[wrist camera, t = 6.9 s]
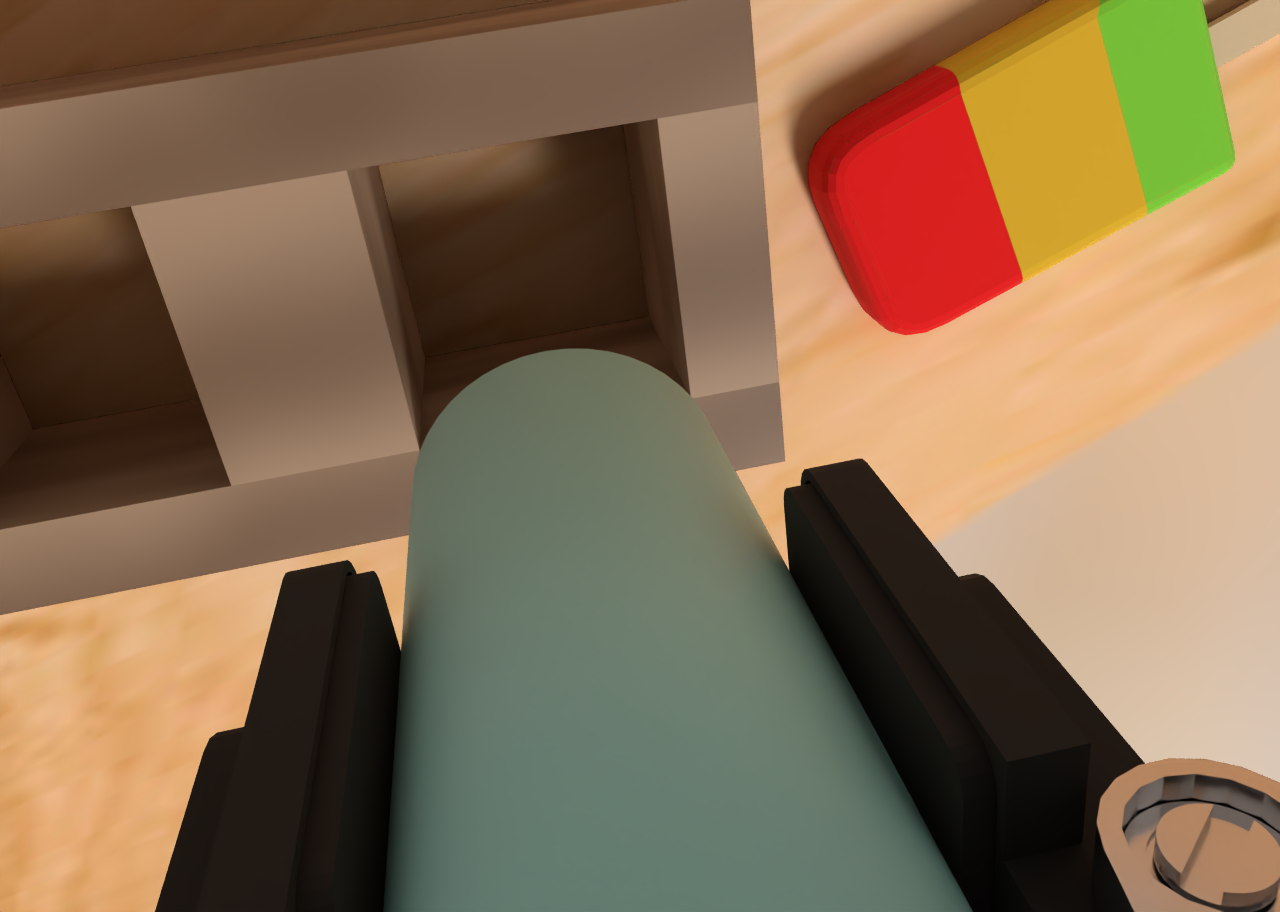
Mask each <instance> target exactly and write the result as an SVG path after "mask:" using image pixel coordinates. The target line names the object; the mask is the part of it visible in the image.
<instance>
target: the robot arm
mask: <svg viewBox="0 0 1280 912" xmlns="http://www.w3.org/2000/svg"><path fill="white" fill-rule="evenodd" d="M784 511H785V523H786V536H787V548H788V560H789V572H790V573H791V575H792V577H793V579H794V581H795V583H796V585H797V586H798V588H799V590H800V592H801V594H802V596H803V598H804V599H805V601H806V603H807V605H808V607H809V609H810V611H811V612H812V614H813V616H814V618H815V620H816V622H817V623H818V625H819V627H820V629H821V631H822V633H823V635H824V636H825V638H826V640H827V642H828V644H829V646H830V648H831V649H832V651H833V653H834V655H835V657H836V659H837V661H838V662H839V664H840V666H841V668H842V670H843V672H844V674H845V675H846V677H847V679H848V681H849V683H850V685H851V687H852V688H853V690H854V692H855V694H856V696H857V698H858V700H859V701H860V703H861V705H862V707H863V709H864V711H865V713H866V714H867V716H868V718H869V720H870V722H871V724H872V726H873V727H874V729H875V731H876V733H877V735H878V737H879V739H880V740H881V742H882V744H883V746H884V748H885V750H886V752H887V753H888V755H889V757H890V759H891V761H892V763H893V764H894V766H895V768H896V770H897V772H898V774H899V776H900V777H901V779H902V781H903V783H904V785H905V787H906V789H907V790H908V792H909V794H910V796H911V798H912V800H913V802H914V803H915V805H916V807H917V809H918V811H919V813H920V815H921V816H922V818H923V820H924V822H925V824H926V826H927V828H928V829H929V831H930V833H931V835H932V837H933V839H934V841H935V842H936V844H937V846H938V848H939V850H940V852H941V854H942V855H943V857H944V859H945V861H946V863H947V865H948V867H949V868H950V870H951V872H952V874H953V876H954V878H955V880H956V881H957V883H958V885H959V887H960V889H961V891H962V893H963V894H964V896H965V898H966V900H967V902H968V904H969V905H970V907H971V909H972V911H973V912H1280V783H1279V782H1277V781H1275V780H1272V779H1270V778H1268V777H1265V776H1263V775H1260V774H1258V773H1255V772H1253V771H1250V770H1248V769H1246V768H1243V767H1240V766H1235V765H1230V764H1226V763H1221V762H1216V761H1212V760H1207V759H1175V758H1174V759H1173V758H1170V759H1164V760H1160V761H1155V762H1151V763H1147V764H1145V763H1144V762H1143V761H1142V759H1141V758H1140V757H1139V756H1138V755H1137V753H1136V752H1135V751H1134V750H1133V749H1132V748H1131V746H1130V745H1129V744H1128V743H1127V742H1126V741H1125V739H1124V738H1123V737H1122V736H1121V735H1120V733H1119V732H1118V731H1117V730H1116V729H1115V728H1114V726H1113V725H1112V724H1111V723H1110V722H1109V720H1108V719H1107V718H1106V717H1105V716H1104V714H1103V713H1102V712H1101V711H1100V710H1099V708H1098V707H1097V706H1096V705H1095V704H1094V703H1093V701H1092V700H1091V699H1090V698H1089V697H1088V696H1087V694H1086V693H1085V692H1084V691H1083V690H1082V688H1081V687H1080V686H1079V685H1078V684H1077V682H1076V681H1075V680H1074V679H1073V678H1072V677H1071V675H1070V674H1069V673H1068V672H1067V671H1066V669H1065V668H1064V667H1063V666H1062V665H1061V663H1060V662H1059V661H1058V660H1057V659H1056V658H1055V657H1054V655H1053V654H1052V653H1051V652H1050V650H1049V649H1048V648H1047V647H1046V646H1045V645H1044V643H1043V642H1042V641H1041V640H1040V639H1039V637H1038V636H1037V635H1036V634H1035V633H1034V632H1033V630H1032V629H1031V628H1030V627H1029V626H1028V625H1027V623H1026V622H1025V621H1024V620H1023V619H1022V617H1021V616H1020V615H1019V614H1018V613H1017V611H1016V610H1015V609H1014V608H1013V607H1012V605H1011V604H1010V603H1009V602H1008V601H1007V600H1006V598H1005V597H1004V596H1003V595H1002V594H1001V592H1000V591H999V590H998V589H997V588H996V587H995V585H994V584H993V583H991V582H990V581H989V580H988V579H987V578H986V577H985V576H983V575H979V574H971V575H965V576H961V577H958V576H957V575H956V574H955V572H954V571H953V570H952V569H951V567H950V566H949V565H948V564H947V562H946V561H945V560H944V559H943V557H942V556H941V555H940V553H939V552H938V551H937V550H936V548H935V547H934V546H933V545H932V543H931V542H930V541H929V540H928V538H927V537H926V536H925V535H924V533H923V532H922V531H921V530H920V528H919V527H918V526H917V525H916V523H915V522H914V521H913V520H912V518H911V517H910V516H909V515H908V513H907V512H906V511H905V510H904V508H903V507H902V506H901V505H900V503H899V502H898V501H897V500H896V498H895V497H894V496H893V495H892V493H891V492H890V491H889V490H888V488H887V487H886V486H885V485H884V483H883V482H882V481H881V480H880V478H879V477H878V476H877V475H876V473H875V472H874V471H873V470H872V468H871V467H870V466H869V465H868V463H867V462H866V461H864V460H863V459H855V460H850V461H844V462H839V463H834V464H829V465H824V466H819V467H814V468H809V469H804V471H803V473H802V477H801V486H796V487H791V488H786V490H785V491H784ZM400 659H401V650H400V647H399V644H398V640H397V637H396V634H395V630H394V627H393V623H392V620H391V617H390V613H389V610H388V607H387V603H386V600H385V597H384V593H383V590H382V587H381V584H380V581H379V578H378V576H377V574H376V573H375V572H374V571H370V572H365V573H360V574H356V571H355V569H354V567H353V565H352V563H351V562H350V561H348V560H346V561H341V562H336V563H331V564H326V565H321V566H315V567H310V568H305V569H300V570H295V571H290V572H287V573H285V576H284V578H283V581H282V585H281V588H280V592H279V596H278V600H277V604H276V607H275V611H274V615H273V619H272V623H271V627H270V630H269V634H268V638H267V642H266V646H265V649H264V653H263V657H262V661H261V665H260V669H259V672H258V676H257V680H256V684H255V688H254V691H253V695H252V699H251V703H250V707H249V711H248V714H247V718H246V722H245V726H244V727H242V728H237V729H232V730H227V731H223V732H218V733H216V734H215V735H214V736H212V737H211V738H210V739H209V741H208V743H207V746H206V748H205V750H204V752H203V755H202V759H201V762H200V765H199V769H198V772H197V775H196V778H195V782H194V785H193V788H192V792H191V795H190V798H189V802H188V805H187V808H186V811H185V815H184V818H183V821H182V825H181V828H180V831H179V834H178V838H177V841H176V844H175V848H174V851H173V854H172V857H171V861H170V864H169V867H168V871H167V874H166V877H165V880H164V884H163V887H162V890H161V894H160V897H159V900H158V904H157V907H156V910H155V912H383V906H384V891H385V877H386V862H387V848H388V833H389V819H390V804H391V790H392V775H393V761H394V746H395V732H396V717H397V703H398V688H399V674H400Z"/></svg>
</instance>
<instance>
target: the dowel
mask: <svg viewBox="0 0 1280 912" xmlns="http://www.w3.org/2000/svg"><path fill="white" fill-rule="evenodd" d="M383 912H973V911H972V909H971V907H970V905H969V904H968V902H967V900H966V898H965V896H964V894H963V893H962V891H961V889H960V887H959V885H958V883H957V881H956V880H955V878H954V876H953V874H952V872H951V870H950V868H949V867H948V865H947V863H946V861H945V859H944V857H943V855H942V854H941V852H940V850H939V848H938V846H937V844H936V842H935V841H934V839H933V837H932V835H931V833H930V831H929V829H928V828H927V826H926V824H925V822H924V820H923V818H922V816H921V815H920V813H919V811H918V809H917V807H916V805H915V803H914V802H913V800H912V798H911V796H910V794H909V792H908V790H907V789H906V787H905V785H904V783H903V781H902V779H901V777H900V776H899V774H898V772H897V770H896V768H895V766H894V764H893V763H892V761H891V759H890V757H889V755H888V753H887V752H886V750H885V748H884V746H883V744H882V742H881V740H880V739H879V737H878V735H877V733H876V731H875V729H874V727H873V726H872V724H871V722H870V720H869V718H868V716H867V714H866V713H865V711H864V709H863V707H862V705H861V703H860V701H859V700H858V698H857V696H856V694H855V692H854V690H853V688H852V687H851V685H850V683H849V681H848V679H847V677H846V675H845V674H844V672H843V670H842V668H841V666H840V664H839V662H838V661H837V659H836V657H835V655H834V653H833V651H832V649H831V648H830V646H829V644H828V642H827V640H826V638H825V636H824V635H823V633H822V631H821V629H820V627H819V625H818V623H817V622H816V620H815V618H814V616H813V614H812V612H811V611H810V609H809V607H808V605H807V603H806V601H805V599H804V598H803V596H802V594H801V592H800V590H799V588H798V586H797V585H796V583H795V581H794V579H793V577H792V575H791V573H790V572H789V570H788V568H787V566H786V564H785V562H784V560H783V559H782V557H781V555H780V553H779V551H778V549H777V547H776V546H775V544H774V542H773V540H772V538H771V536H770V534H769V533H768V531H767V529H766V527H765V525H764V523H763V521H762V520H761V518H760V516H759V514H758V512H757V510H756V508H755V507H754V505H753V503H752V501H751V499H750V497H749V495H748V494H747V492H746V490H745V488H744V486H743V484H742V483H741V481H740V479H739V477H738V475H737V473H736V471H735V470H734V468H733V466H732V464H731V462H730V460H729V458H728V457H727V455H726V453H725V451H724V449H723V447H722V445H721V444H720V442H719V440H718V438H717V436H716V434H715V432H714V431H713V429H712V427H711V425H710V423H709V421H708V419H707V418H706V416H705V414H704V413H703V411H702V410H701V409H700V407H699V406H698V404H697V403H696V402H695V400H694V399H693V398H692V397H691V396H690V395H689V394H688V393H687V392H686V391H685V390H684V389H683V388H682V387H681V386H680V385H679V384H677V383H676V382H675V381H673V380H672V379H671V378H670V377H668V376H667V375H666V374H664V373H662V372H660V371H659V370H657V369H655V368H653V367H652V366H650V365H648V364H646V363H643V362H641V361H638V360H636V359H634V358H631V357H628V356H624V355H621V354H617V353H613V352H609V351H602V350H594V349H559V350H551V351H543V352H539V353H535V354H531V355H527V356H523V357H521V358H518V359H515V360H513V361H510V362H508V363H505V364H503V365H501V366H499V367H497V368H495V369H493V370H491V371H489V372H488V373H486V374H484V375H482V376H481V377H480V378H478V379H477V380H475V381H474V382H473V383H471V384H470V385H468V386H467V387H466V388H465V389H464V390H462V391H461V392H460V393H459V394H458V395H457V396H456V397H455V398H454V399H453V400H452V401H451V402H450V403H449V404H448V405H447V407H446V408H445V409H444V410H443V411H442V413H441V414H440V415H439V416H438V418H437V419H436V421H435V422H434V424H433V426H432V427H431V429H430V431H429V432H428V434H427V436H426V438H425V440H424V443H423V445H422V447H421V450H420V452H419V455H418V459H417V463H416V467H415V470H414V478H413V487H412V500H411V514H410V529H409V543H408V557H407V572H406V586H405V601H404V615H403V630H402V644H401V659H400V674H399V688H398V703H397V717H396V732H395V746H394V761H393V775H392V790H391V804H390V819H389V833H388V848H387V862H386V877H385V891H384V906H383Z"/></svg>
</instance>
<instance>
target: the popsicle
mask: <svg viewBox="0 0 1280 912" xmlns="http://www.w3.org/2000/svg"><path fill="white" fill-rule="evenodd" d="M1101 34H1102V35H1101ZM1278 34H1280V0H1250V1H1248V2H1246V3H1244V4H1243V5H1241V6H1239V7H1237V8H1235V9H1234V10H1232V11H1230V12H1228V13H1226V14H1225V15H1223V16H1221V17H1219V18H1217V19H1215V20H1214V21H1212V22H1210V23H1208V24H1207V20H1206V15H1205V11H1204V6H1203V1H1202V0H1049V1H1048V2H1046V3H1044V4H1042V5H1041V6H1039V7H1037V8H1035V9H1034V10H1032V11H1030V12H1028V13H1026V14H1025V15H1023V16H1021V17H1019V18H1018V19H1016V20H1014V21H1012V22H1010V23H1009V24H1007V25H1005V26H1003V27H1002V28H1000V29H998V30H996V31H995V32H993V33H991V34H989V35H987V36H986V37H984V38H982V39H980V40H979V41H977V42H975V43H973V44H971V45H970V46H968V47H966V48H964V49H963V50H961V51H959V52H957V53H956V54H954V55H952V56H950V57H948V58H947V59H945V60H943V61H941V62H940V63H938V64H936V65H934V66H932V67H931V68H929V69H927V70H925V71H924V72H922V73H920V74H918V75H916V76H915V77H913V78H911V79H909V80H908V81H906V82H904V83H902V84H901V85H899V86H897V87H895V88H893V89H892V90H890V91H888V92H886V93H885V94H883V95H881V96H879V97H877V98H876V99H874V100H872V101H870V102H869V103H867V104H865V105H863V106H862V107H860V108H858V109H856V110H854V111H853V112H851V113H849V114H848V115H846V116H845V117H843V118H842V119H841V120H839V121H838V122H836V123H835V124H834V125H832V126H831V127H829V128H828V129H827V131H826V132H825V133H824V134H823V136H822V137H821V138H820V139H819V140H818V142H817V143H816V144H815V146H814V149H813V152H812V154H811V157H810V160H809V163H808V183H809V187H810V190H811V193H812V197H813V200H814V203H815V206H816V208H817V211H818V213H819V215H820V218H821V220H822V222H823V224H824V227H825V229H826V231H827V234H828V236H829V238H830V241H831V243H832V245H833V247H834V250H835V252H836V254H837V257H838V259H839V261H840V264H841V266H842V268H843V270H844V273H845V275H846V277H847V280H848V282H849V284H850V287H851V289H852V291H853V293H854V295H855V296H856V298H857V300H858V301H859V303H860V305H861V306H862V308H863V310H864V311H865V312H866V313H868V314H869V315H870V316H871V317H872V318H873V319H874V320H876V321H877V322H878V323H879V324H880V325H882V326H883V327H884V328H885V329H887V330H889V331H891V332H895V333H899V334H902V335H911V334H918V333H924V332H928V331H930V330H932V329H935V328H937V327H939V326H942V325H944V324H946V323H948V322H950V321H952V320H954V319H956V318H957V317H959V316H961V315H963V314H965V313H967V312H969V311H970V310H972V309H974V308H976V307H978V306H980V305H981V304H983V303H985V302H987V301H989V300H991V299H993V298H994V297H996V296H998V295H1000V294H1002V293H1004V292H1005V291H1007V290H1009V289H1011V288H1013V287H1015V286H1017V285H1018V284H1020V283H1022V282H1024V281H1026V280H1028V279H1030V278H1031V277H1033V276H1035V275H1037V274H1039V273H1041V272H1042V271H1044V270H1046V269H1048V268H1050V267H1052V266H1054V265H1055V264H1057V263H1059V262H1061V261H1063V260H1065V259H1066V258H1068V257H1070V256H1072V255H1074V254H1076V253H1078V252H1079V251H1081V250H1083V249H1085V248H1087V247H1089V246H1091V245H1092V244H1094V243H1096V242H1098V241H1100V240H1102V239H1103V238H1105V237H1107V236H1109V235H1111V234H1113V233H1115V232H1116V231H1118V230H1120V229H1122V228H1124V227H1126V226H1127V225H1129V224H1131V223H1133V222H1135V221H1137V220H1139V219H1140V218H1142V217H1144V216H1146V215H1148V214H1150V213H1151V212H1153V211H1155V210H1157V209H1159V208H1161V207H1163V206H1164V205H1166V204H1168V203H1170V202H1172V201H1174V200H1175V199H1177V198H1179V197H1181V196H1183V195H1185V194H1187V193H1188V192H1190V191H1192V190H1194V189H1196V188H1198V187H1200V186H1201V185H1203V184H1205V183H1207V182H1209V181H1211V180H1212V179H1214V178H1216V177H1218V176H1220V175H1222V174H1224V173H1225V172H1227V171H1228V170H1229V169H1230V168H1231V167H1232V166H1233V165H1234V161H1235V151H1234V147H1233V142H1232V137H1231V133H1230V128H1229V123H1228V119H1227V114H1226V109H1225V105H1224V100H1223V95H1222V90H1221V86H1220V81H1219V76H1218V72H1217V68H1218V67H1220V66H1222V65H1223V64H1225V63H1227V62H1229V61H1231V60H1233V59H1234V58H1236V57H1238V56H1240V55H1242V54H1243V53H1245V52H1247V51H1249V50H1251V49H1253V48H1254V47H1256V46H1258V45H1260V44H1262V43H1263V42H1265V41H1267V40H1269V39H1271V38H1273V37H1274V36H1276V35H1278ZM946 68H947V69H946ZM948 69H949V70H948ZM971 124H972V125H971ZM1129 140H1130V141H1129ZM988 174H989V175H988ZM1143 193H1144V194H1143ZM1006 227H1007V228H1006ZM847 244H848V245H847ZM850 251H851V252H850ZM870 298H871V299H870Z"/></svg>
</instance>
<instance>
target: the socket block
mask: <svg viewBox="0 0 1280 912" xmlns="http://www.w3.org/2000/svg"><path fill="white" fill-rule="evenodd" d="M622 124H623V129H624V136H625V144H626V151H627V159H628V166H629V173H630V181H631V188H632V195H633V203H634V210H635V218H636V225H637V232H638V240H639V247H640V255H641V262H642V269H643V277H644V284H645V291H646V299H647V306H648V314H649V317H646V318H640V319H635V320H629V321H624V322H618V323H613V324H607V325H602V326H596V327H591V328H586V329H580V330H575V331H569V332H564V333H558V334H553V335H547V336H542V337H536V338H531V339H525V340H520V341H514V342H509V343H503V344H498V345H492V346H487V347H481V348H476V349H470V350H465V351H459V352H454V353H448V354H443V355H438V356H432V357H427V358H425V355H424V351H423V347H422V343H421V339H420V335H419V331H418V327H417V323H416V319H415V315H414V311H413V307H412V302H411V298H410V294H409V290H408V286H407V282H406V278H405V274H404V270H403V266H402V262H401V258H400V254H399V249H398V245H397V241H396V237H395V233H394V229H393V225H392V221H391V217H390V213H389V209H388V205H387V201H386V197H385V192H384V188H383V184H382V180H381V176H380V172H379V168H378V165H382V164H388V163H394V162H400V161H406V160H412V159H418V158H424V157H430V156H436V155H442V154H448V153H454V152H460V151H466V150H472V149H478V148H484V147H490V146H496V145H502V144H508V143H514V142H520V141H526V140H532V139H538V138H544V137H550V136H556V135H562V134H568V133H574V132H580V131H586V130H592V129H598V128H604V127H610V126H616V125H622ZM130 206H131V209H132V212H133V214H134V217H135V220H136V223H137V225H138V228H139V231H140V234H141V237H142V239H143V242H144V245H145V248H146V250H147V253H148V256H149V259H150V261H151V264H152V267H153V270H154V273H155V275H156V278H157V281H158V284H159V286H160V289H161V292H162V295H163V298H164V300H165V303H166V306H167V309H168V311H169V314H170V317H171V320H172V322H173V325H174V328H175V331H176V334H177V336H178V339H179V342H180V345H181V347H182V350H183V353H184V356H185V359H186V361H187V364H188V367H189V370H190V372H191V375H192V378H193V381H194V383H195V386H196V389H197V392H198V395H199V397H200V399H196V400H191V401H185V402H180V403H174V404H169V405H163V406H158V407H152V408H147V409H142V410H136V411H131V412H125V413H120V414H114V415H109V416H103V417H98V418H92V419H87V420H81V421H76V422H70V423H65V424H59V425H54V426H48V427H43V428H37V429H33V427H32V425H31V422H30V420H29V418H28V416H27V413H26V411H25V409H24V407H23V405H22V402H21V400H20V398H19V396H18V393H17V391H16V389H15V387H14V384H13V382H12V380H11V378H10V376H9V373H8V371H7V369H6V367H5V364H4V362H3V360H2V358H1V355H0V615H3V614H8V613H13V612H18V611H23V610H29V609H34V608H39V607H44V606H49V605H54V604H59V603H64V602H69V601H74V600H79V599H85V598H90V597H95V596H100V595H105V594H110V593H115V592H120V591H125V590H130V589H136V588H141V587H146V586H151V585H156V584H161V583H166V582H171V581H176V580H181V579H187V578H192V577H197V576H202V575H207V574H212V573H217V572H222V571H227V570H232V569H238V568H243V567H248V566H253V565H258V564H263V563H268V562H273V561H278V560H283V559H289V558H294V557H299V556H304V555H309V554H314V553H319V552H324V551H329V550H334V549H340V548H345V547H350V546H355V545H360V544H365V543H370V542H375V541H380V540H385V539H391V538H396V537H401V536H406V535H409V529H410V514H411V500H412V487H413V478H414V470H415V467H416V463H417V459H418V455H419V452H420V450H421V447H422V445H423V443H424V440H425V438H426V436H427V434H428V432H429V431H430V429H431V427H432V426H433V424H434V422H435V421H436V419H437V418H438V416H439V415H440V414H441V413H442V411H443V410H444V409H445V408H446V407H447V405H448V404H449V403H450V402H451V401H452V400H453V399H454V398H455V397H456V396H457V395H458V394H459V393H460V392H461V391H462V390H464V389H465V388H466V387H467V386H468V385H470V384H471V383H473V382H474V381H475V380H477V379H478V378H480V377H481V376H482V375H484V374H486V373H488V372H489V371H491V370H493V369H495V368H497V367H499V366H501V365H503V364H505V363H508V362H510V361H513V360H515V359H518V358H521V357H523V356H527V355H531V354H535V353H539V352H543V351H551V350H559V349H594V350H602V351H609V352H613V353H617V354H621V355H624V356H628V357H631V358H634V359H636V360H638V361H641V362H643V363H646V364H648V365H650V366H652V367H653V368H655V369H657V370H659V371H660V372H662V373H664V374H666V375H667V376H668V377H670V378H671V379H672V380H673V381H675V382H676V383H677V384H679V385H680V386H681V387H682V388H683V389H684V390H685V391H686V392H687V393H688V394H689V395H690V396H691V397H692V398H693V399H694V400H695V402H696V403H697V404H698V406H699V407H700V409H701V410H702V411H703V413H704V414H705V416H706V418H707V419H708V421H709V423H710V425H711V427H712V429H713V431H714V432H715V434H716V436H717V438H718V440H719V442H720V444H721V445H722V447H723V449H724V451H725V453H726V455H727V457H728V458H729V460H730V462H731V464H732V466H733V468H734V470H735V471H737V470H742V469H747V468H753V467H758V466H763V465H768V464H773V463H778V462H783V461H785V452H784V439H783V426H782V413H781V400H780V387H779V374H778V361H777V348H776V335H775V321H774V308H773V295H772V282H771V269H770V256H769V243H768V230H767V217H766V204H765V191H764V178H763V164H762V151H761V138H760V125H759V112H758V99H757V86H756V73H755V60H754V47H753V34H752V21H751V7H750V0H553V1H547V2H541V3H534V4H528V5H521V6H515V7H508V8H502V9H496V10H489V11H483V12H476V13H470V14H464V15H457V16H451V17H444V18H438V19H431V20H425V21H419V22H412V23H406V24H399V25H393V26H387V27H380V28H374V29H367V30H361V31H355V32H348V33H342V34H335V35H329V36H322V37H316V38H310V39H303V40H297V41H290V42H284V43H278V44H271V45H265V46H258V47H252V48H245V49H239V50H233V51H226V52H220V53H213V54H207V55H201V56H194V57H188V58H181V59H175V60H168V61H162V62H156V63H149V64H143V65H136V66H130V67H124V68H117V69H111V70H104V71H98V72H92V73H85V74H79V75H72V76H66V77H59V78H53V79H47V80H40V81H34V82H27V83H21V84H15V85H8V86H2V87H0V228H4V227H10V226H16V225H22V224H28V223H34V222H40V221H46V220H52V219H58V218H64V217H70V216H76V215H82V214H88V213H94V212H100V211H106V210H112V209H118V208H124V207H130Z"/></svg>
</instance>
